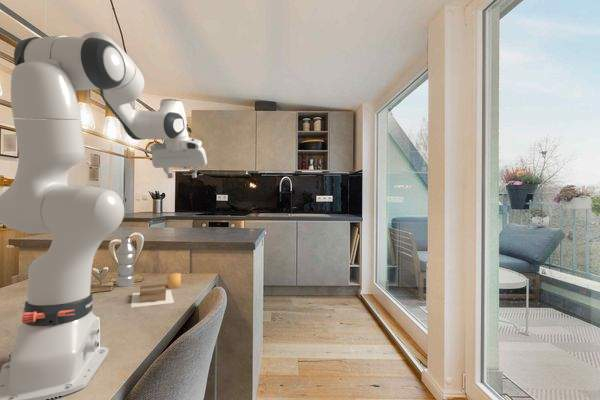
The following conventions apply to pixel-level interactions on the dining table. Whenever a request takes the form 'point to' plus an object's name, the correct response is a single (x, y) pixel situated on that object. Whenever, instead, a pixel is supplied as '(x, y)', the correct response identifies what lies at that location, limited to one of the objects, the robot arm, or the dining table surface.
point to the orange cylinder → (174, 280)
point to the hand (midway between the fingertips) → (182, 177)
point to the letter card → (137, 303)
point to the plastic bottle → (125, 263)
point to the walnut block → (152, 292)
